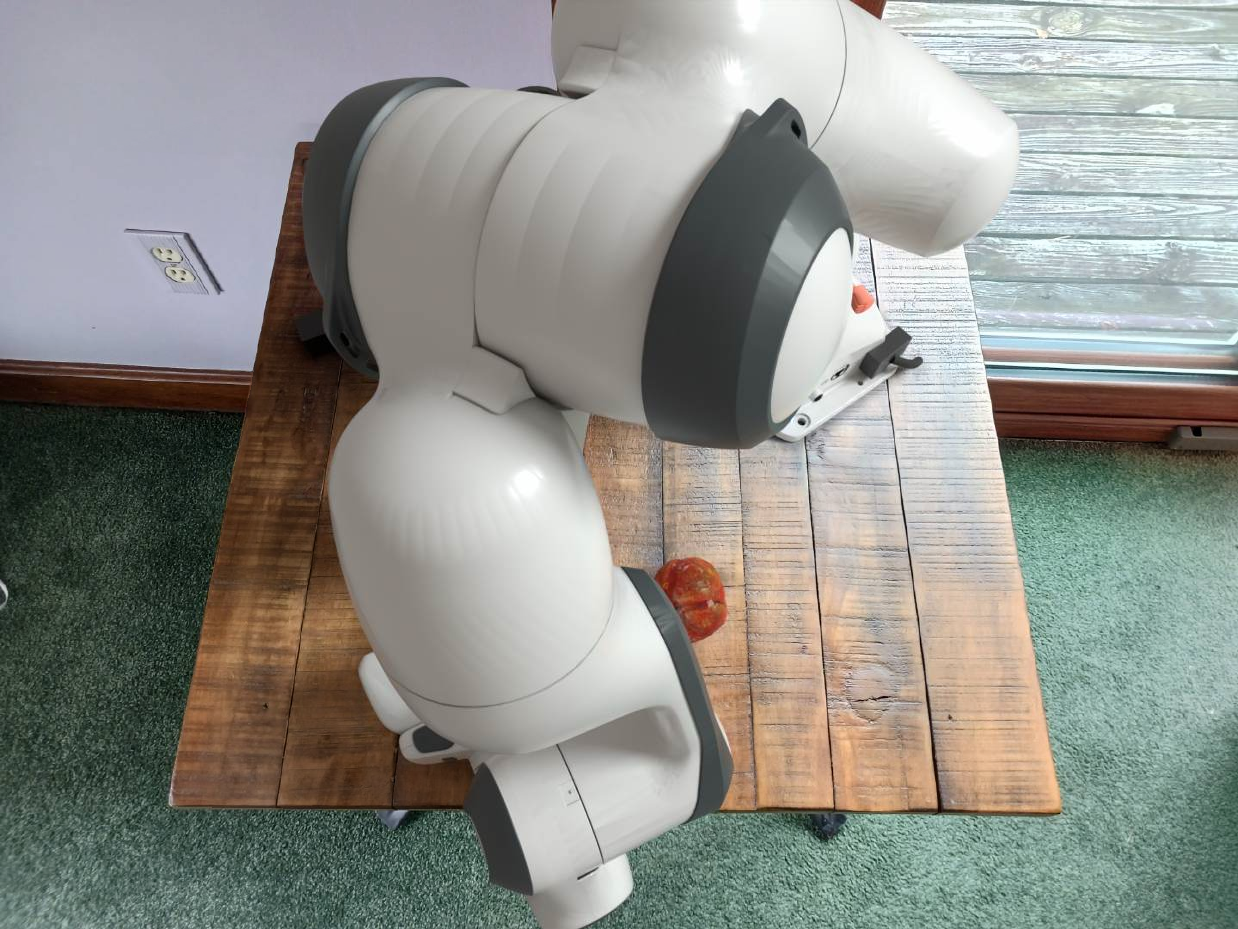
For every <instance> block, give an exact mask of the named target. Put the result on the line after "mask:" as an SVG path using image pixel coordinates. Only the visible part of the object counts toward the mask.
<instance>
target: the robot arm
mask: <svg viewBox="0 0 1238 929" xmlns="http://www.w3.org/2000/svg"><path fill="white" fill-rule="evenodd" d="M550 56H551V64H552V70H553V75H554V78H555V82H556V85H557V91H558V92H559V93H560V94H561V96H562V97H560V96H554V95H547V94H540V93H532V92H524V91H516V90H517V89H515V90H514V89H503V88H502V89H501V88H488V87H471V86H469V85H468V84H466V83H464V82H462V81H460V80H458V79H455V78H451V77H444V76H418V77H417V76H416V77H404V78H403V77H402V78H396V79H389V80H383V81H378V82H375V83H373V84H369V85H366V86H362V87H360V88H358V89H356V90H353V91H352V92H350V93H349V94H348V95H346V96H345V97H344V98H342V99H341V100H340V101H339V102H338V103H336V104H335V106H333V108H332V109H331V110H330V112H328V114H327V116H326V117H325V119H324V120H323V122H322V124H321V125H320V127H319V129H318V131H317V133H316V135H315V137H314V140H313V142H312V145H311V148H310V151H309V155H308V160H307V163H306V166H305V171H304V177H303V182H302V191H301V216H302V231H303V242H304V249H305V255H306V258H307V262H308V263H307V264H308V267H309V270H310V273H311V276H312V279H313V282H314V285H315V287H316V289H317V291H318V293H319V295H320V297H321V298H322V300H323V305H322V306H323V308H322V309H323V327H324V331H325V334H326V336H327V338H328V339H329V341H330V342H331V344H332V345H333V346H334V348H335V349H336V350H337V351H336V352H337V353H338V355H340V357H341V358H342V359H343V360H344V361H345V362H346V363H347V364H348V365H349V366H350V367H351V368H353V369H355V371H357V372H358V373H360V374H361V375H363V376H366V377H367V378H369V379H372V380H376V381H378V385H377V388H376V390H375V392H374V394H373V396H372V397H371V398H370V399H369V400H368V402H367V403H366V404H364V405H363V406H362V408H360V409H359V411H358V412H357V413H356V414H355V415H354V416H353V417H352V418H351V420H350V421H349V422H348V424H347V426H346V427H345V429H343V431H342V434H341V436H340V438H339V439H338V441H337V443H336V446H335V448H334V450H333V453H332V457H331V461H330V465H329V468H328V476H327V478H328V479H327V498H328V508H329V513H330V520H331V527H332V533H333V534H332V535H333V539H334V543H335V548H336V552H337V556H338V560H339V565H340V569H341V572H342V575H343V579H344V582H345V585H346V588H347V591H348V594H349V597H350V601H351V604H352V606H353V609H354V612H355V614H356V617H357V620H358V622H359V625H360V628H361V629H362V631H363V633H364V635H365V637H366V639H367V641H368V644H369V646H370V648H371V649H372V651H371V652H368V653H367V654H365V655H363V656H362V658H361V660H360V663H359V666H358V670H357V673H358V677H359V680H360V682H361V685H362V687H363V690H364V692H365V695H366V697H367V699H368V701H369V703H370V706H371V707H372V709H373V711H374V714H376V716H377V718H378V719H379V721H380V722H381V724H382V725H383V726H384V727H385V728H387V730H390V731H392V732H393V733H396V734H398V735H400V736H399V738H398V739H399V740H398V745H399V749H400V753H401V754H402V756H403V758H405V760H407V761H409V762H410V763H413V764H417V765H432V764H433V765H434V764H441V763H453V762H457V761H461V760H467V761H469V764H470V766H471V769H472V772H473V775H474V776H473V777H472V780H471V782H470V784H469V787H468V789H467V791H466V794H465V797H464V800H463V803H462V805H461V808H462V810H463V811H464V812H465V814H466V815H467V816H468V817H469V818H470V821H471V824H472V827H473V830H474V831H475V835H476V837H477V841H478V844H479V846H480V848H481V851H482V854H483V858H484V860H485V863H486V865H487V868H488V882H489V883H491V884H494V885H496V886H498V887H500V888H503V889H505V890H508V891H510V892H513V893H516V894H520V895H523V897H524V899H525V901H526V903H527V905H528V907H529V908H530V910H531V912H532V914H533V916H534V918H535V919H536V921H537V923H538V924H539V926H540V928H541V929H587V928H589V927H591V926H593V925H595V924H597V923H599V922H601V921H603V920H604V919H606V918H607V917H609V916H610V915H612V914H613V913H614V912H616V911H617V909H618V908H620V907H621V906H622V905H623V904H624V903H625V902H626V901H627V899H629V897H630V895H631V893H632V892H633V889H634V879H633V874H632V869H631V864H630V862H629V857H628V855H627V853H629V852H631V851H632V850H635V849H637V848H639V847H640V846H642V845H645V844H646V843H648V842H650V841H652V840H654V839H656V838H658V837H660V836H661V835H663V834H665V833H668V832H669V831H671V830H673V829H675V828H677V827H679V826H685V825H687V824H689V823H692V822H693V821H696V820H698V819H701V818H703V817H705V816H707V815H710V814H712V813H715V812H717V811H719V810H720V809H721V808H722V806H723V805H724V802H725V799H726V798H727V795H728V791H729V789H730V788H731V783H732V780H733V775H734V771H735V770H734V769H735V763H734V759H733V757H732V750H731V746H730V742H729V738H728V736H727V733H726V730H725V729H724V726H723V723H722V721H721V720H720V717H719V716H718V715H717V713H716V711H715V710H714V708H713V704H712V701H711V698H710V695H709V691H708V688H707V685H706V681H705V678H704V675H703V671H702V668H701V666H700V661H699V659H698V657H697V654H696V651H695V648H694V646H693V643H691V641H690V638H689V636H688V633H687V631H686V629H685V627H684V624H683V623H682V621H681V619H680V617H679V615H678V613H677V611H676V610H675V608H674V606H673V605H672V603H671V602H670V600H669V598H668V597H667V595H666V594H665V592H664V591H663V589H662V588H661V587H660V585H659V584H658V583H657V582H656V581H655V580H654V577H653V576H652V575H651V574H649V572H647V571H646V570H645V569H644V568H637V567H630V566H623V565H620V566H618V565H615V564H614V563H613V555H612V549H611V543H610V539H609V534H608V529H607V524H606V521H605V516H604V513H603V508H602V505H601V502H600V499H599V494H598V491H597V489H596V485H595V482H594V480H593V477H592V474H591V471H590V468H589V465H588V463H587V460H586V458H585V456H584V448H585V441H586V435H587V429H588V424H589V421H590V417H591V415H592V416H593V415H594V416H597V417H601V418H604V419H605V418H606V419H610V420H613V421H617V422H621V423H625V424H630V425H635V426H640V427H644V428H649V429H650V431H651V432H652V433H653V435H655V437H656V438H658V439H659V440H662V441H665V442H671V443H676V444H681V445H685V446H686V445H687V446H692V447H697V448H698V447H699V448H707V449H716V450H717V449H718V450H728V451H729V450H732V451H733V450H735V451H736V450H737V451H738V450H752V449H754V448H755V447H757V446H759V445H761V444H762V443H763V442H765V441H767V440H769V439H770V438H772V437H773V436H776V437H778V438H779V439H782V440H784V441H786V442H791V443H794V442H798V441H800V440H802V439H803V438H805V437H807V435H809V434H810V433H812V432H813V431H815V430H816V429H817V428H819V427H820V426H822V425H823V424H825V423H826V422H828V421H829V420H830V419H832V418H834V417H835V416H836V415H838V414H839V413H840V412H843V411H844V410H845V409H846V408H848V407H849V406H850V405H852V404H854V403H856V401H858V400H860V398H862V397H863V396H865V395H866V394H868V393H869V392H870V391H872V390H874V389H875V388H877V387H878V386H880V385H881V384H882V383H883V382H885V381H886V380H888V379H889V378H890V377H892V376H893V375H894V374H895V373H896V372H897V369H898V367H900V368H902V369H903V368H904V369H908V370H914V369H918V368H919V367H920V366H921V365H923V363H924V358H923V357H922V356H919V355H918V356H915V357H914V358H912V359H910V358H905V357H902V355H904V353H905V351H906V350H907V348H908V347H909V345H910V343H911V341H912V340H913V337H912V336H911V335H910V334H909V333H908V332H906V330H904V329H903V328H902V327H901V326H900V325H897V326H896V327H895V328H894V329H892V330H890V327H889V326H888V324H887V322H886V320H885V319H884V317H883V316H882V313H881V311H880V309H879V307H878V305H877V303H876V301H875V300H876V299H874V297H873V295H871V294H870V292H869V291H868V290H867V288H866V286H865V285H864V284H863V283H862V282H861V281H860V280H859V279H858V278H857V277H856V276H855V275H854V271H853V270H854V268H855V265H856V263H857V260H858V258H859V253H860V248H861V247H860V246H861V236H862V237H865V238H868V239H870V240H873V241H876V242H878V243H881V244H883V245H886V246H889V247H892V248H895V249H897V250H900V251H904V252H906V253H909V254H912V255H915V256H919V257H922V258H931V257H935V256H939V255H943V254H945V253H949V252H951V251H952V250H955V249H957V248H959V247H961V246H963V245H964V244H966V243H968V242H969V241H971V240H972V239H973V238H975V237H976V236H978V235H979V234H980V233H981V232H982V231H984V229H985V228H987V227H988V226H989V224H990V223H991V222H992V221H993V220H994V219H995V218H996V217H997V215H998V214H999V212H1001V210H1002V208H1003V206H1004V205H1005V204H1006V202H1007V201H1008V198H1009V196H1010V194H1011V192H1012V190H1013V187H1014V185H1015V182H1016V179H1017V174H1018V171H1019V165H1020V160H1021V143H1020V142H1021V141H1020V132H1019V128H1018V124H1017V122H1016V121H1014V120H1013V119H1012V117H1010V116H1009V115H1008V114H1006V113H1005V112H1004V111H1003V109H1001V108H1000V107H999V106H998V105H997V104H995V103H994V102H993V101H992V100H991V99H989V98H988V97H987V96H986V95H984V94H983V93H982V92H981V91H979V90H978V89H977V88H975V87H974V86H973V85H972V84H970V83H969V82H968V81H967V80H965V79H964V78H963V77H961V76H960V75H959V74H958V73H957V72H955V71H954V70H952V68H950V67H949V66H948V65H946V64H945V63H943V62H942V61H941V60H940V59H937V57H935V56H933V55H932V54H931V53H930V52H928V51H927V50H925V49H924V48H922V47H921V46H920V45H918V44H917V43H915V42H914V41H912V39H909V38H908V37H906V36H905V35H904V34H901V32H899V31H898V30H897V29H895V28H893V27H891V26H890V25H888V24H886V22H884V21H882V20H880V18H878V17H876V16H875V15H873V14H872V13H870V12H868V11H867V10H866V9H864V8H862V7H861V6H859V5H857V4H856V3H854V2H853V1H851V0H556V1H555V4H554V8H553V14H552V19H551V30H550ZM341 332H343V333H344V334H345V336H346V337H347V338H348V339H349V342H350V345H349V346H348V347H346V346H345V345H344V343H343V342H342V340H341V338H340V334H341ZM368 361H372V362H368ZM373 362H374V363H373ZM799 422H802V423H803V424H804V425H801V424H800V423H799Z"/></svg>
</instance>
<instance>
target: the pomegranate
mask: <svg viewBox="0 0 1238 929" xmlns="http://www.w3.org/2000/svg"><path fill="white" fill-rule="evenodd" d="M653 579H654V580H655V581H656V582H657V583H658V584H659V585H660V587H661V588H662V589H663V591H664V592H665V594H666V595H667V597H668V598H669V600H670V602H671V603H672V605H673V606H674V608H675V610H676V611H677V613H678V615H679V617H680V619H681V621H682V623H683V624H684V627H685V629H686V631H687V633H688V636H689V638H690V641H691V643H692V644H696V643H697V642H700V641H703V640H705V639H707V638H708V637H710V636H712V635H713V634H715V632H717V631H718V630H719V629H720V628H721V627H723V625H725V622H726V620H727V617H728V604H727V599H726V590H725V588H724V585H723V582H722V579H721V576H720V574H719V572H718V571H717V569H716V568H715V566H714V565H713V564H712V563H711V562H709V561H707V560H706V559H703V558H700V557H697V556H690V557H686V558H681V559H680V558H674V559H671V560H669V561H667V562H666V563H664V564H663V565H662V566H661V567H660V568H659V569H658V570H657V571H656V574H655V575H654V577H653Z"/></svg>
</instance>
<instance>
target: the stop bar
mask: <svg viewBox="0 0 1238 929" xmlns="http://www.w3.org/2000/svg"><path fill="white" fill-rule="evenodd" d="M293 321H294V324H295V327H296V329H297V330H296V331H297V333H298V335H299V339H300V341H301V343H302V344H303V346H304V348H305V350H306V351H307V352H308V354H309V355H310V356H311V358H312V360H316V359H319V358H321V357H323V356H326V355H329V354H332V353H334V352H337V350H336V349H335V348H334V346H333V345H332V344H331V342H330V341H329V339H328V338H327V336H326V334H325V331H324V327H323V308H322V309H319V310H316V311H314V312H312V313H308V314H305V315H303V316H300V317H297V318H294V319H293ZM340 338H341V340H342V342H343V343H344V345H345V346H346V348H348V347H349V345H350V342H349V339H348V338H347V337H346V336H345V334H344V333H343V332H341V334H340Z"/></svg>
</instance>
